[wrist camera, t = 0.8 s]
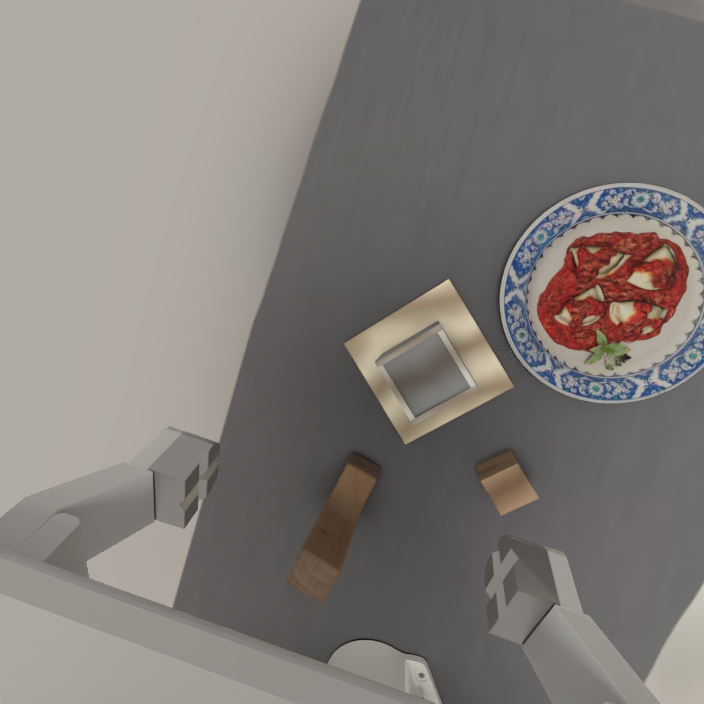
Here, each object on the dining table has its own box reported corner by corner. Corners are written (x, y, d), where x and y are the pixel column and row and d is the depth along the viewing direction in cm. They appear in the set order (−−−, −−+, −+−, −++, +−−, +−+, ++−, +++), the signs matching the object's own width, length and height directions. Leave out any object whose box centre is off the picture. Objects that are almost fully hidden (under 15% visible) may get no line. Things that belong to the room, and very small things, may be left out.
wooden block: (353, 450, 59) (321, 514, 41) (381, 466, 58) (361, 537, 41) (326, 501, 60) (284, 583, 43) (352, 517, 60) (321, 606, 42)
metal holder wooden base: (511, 384, 54) (531, 403, 44) (406, 440, 57) (401, 470, 47) (448, 279, 54) (453, 274, 43) (346, 342, 57) (328, 351, 47)
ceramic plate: (536, 166, 50) (542, 158, 47) (765, 216, 47) (787, 211, 44) (470, 365, 55) (473, 368, 52) (676, 425, 51) (691, 433, 48)
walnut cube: (529, 480, 55) (539, 498, 50) (494, 497, 56) (501, 515, 51) (509, 448, 55) (517, 463, 50) (475, 465, 56) (480, 481, 51)
